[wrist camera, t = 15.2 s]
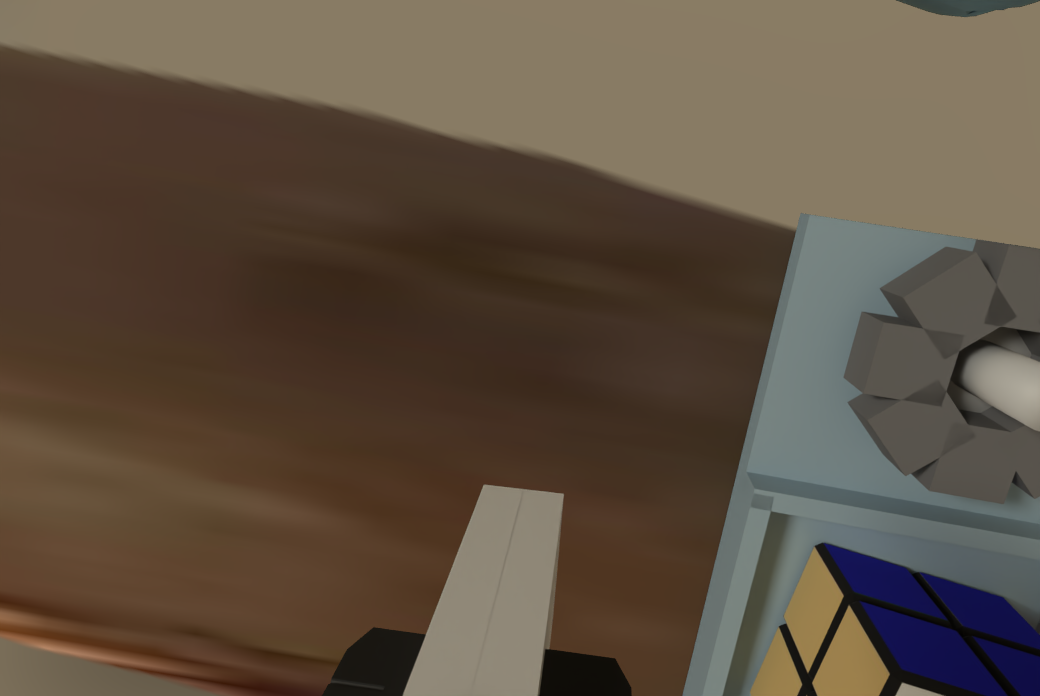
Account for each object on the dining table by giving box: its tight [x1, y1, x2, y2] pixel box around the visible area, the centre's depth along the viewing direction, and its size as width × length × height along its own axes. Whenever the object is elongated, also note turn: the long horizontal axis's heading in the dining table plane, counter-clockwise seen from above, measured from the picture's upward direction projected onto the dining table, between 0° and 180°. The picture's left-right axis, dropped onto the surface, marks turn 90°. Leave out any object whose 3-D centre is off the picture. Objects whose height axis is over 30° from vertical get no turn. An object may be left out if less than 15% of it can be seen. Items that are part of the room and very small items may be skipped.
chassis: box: [683, 213, 1040, 696], centre depth 32 cm, size 30×17×8 cm, turn 172°
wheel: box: [843, 240, 1040, 504], centre depth 30 cm, size 11×11×2 cm
